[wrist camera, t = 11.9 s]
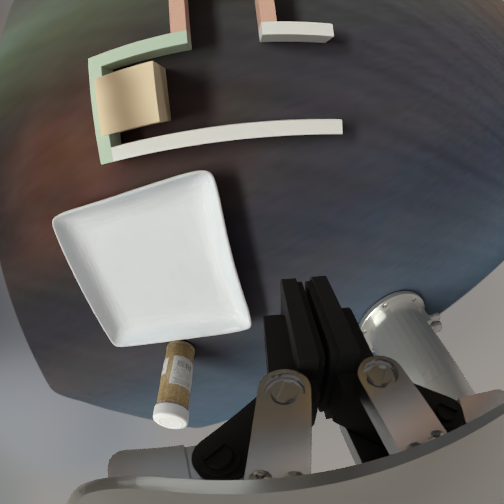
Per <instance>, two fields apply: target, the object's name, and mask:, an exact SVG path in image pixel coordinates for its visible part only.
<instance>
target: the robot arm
mask: <svg viewBox="0 0 504 504" xmlns="http://www.w3.org/2000/svg"><path fill="white" fill-rule="evenodd" d="M439 319H440V314H439V313H434V314H431V315H428V314H427V313H426V312H425V305H424V302H423V300H422V299H421V297H420V296H419V295H418V294H416V293H415V292H412V291H399V292H395V293H392V294H390V295H388V296H386V297H384V298H382V299H381V300H379V301H378V302H377V303H375V304H374V305H373V306H372V307H371V308H370V309H369V310H368V311H367V313H366V314H365V315H364V317H363V318H362V320H361V322H360V324H359V325H358V323H357V321H356V319H355V317H354V315H353V313H352V311H351V309H350V308H341V306H340V304H339V302H338V300H337V298H336V296H335V294H334V292H333V290H332V287H331V285H330V283H329V281H328V279H327V277H326V276H317V277H311V278H310V281H306V282H305V290H304V287H303V284H302V282H297V280H296V278H294V279H281V315H270V316H263V323H264V340H265V353H266V364H267V375H266V376H264V377H263V379H262V380H261V381H260V383H259V386H258V391H257V397H256V398H255V399H254V400H252V401H251V402H250V403H249V404H248V405H247V406H245V407H244V408H243V409H242V410H241V411H239V412H238V413H237V414H236V415H234V416H233V417H232V418H231V419H229V420H228V421H227V422H226V423H224V424H223V425H222V426H221V427H219V428H218V429H217V430H216V431H214V432H213V433H212V434H210V435H209V436H208V437H206V438H205V439H204V440H202V441H201V442H200V443H199V444H198V445H197V446H190V447H184V445H179V446H171V447H163V448H162V447H161V448H150V449H134V450H123V451H119V452H117V453H115V454H114V455H113V456H112V457H111V459H110V460H109V464H108V478H103V479H97V480H93V481H90V482H87V483H84V484H82V485H80V486H79V487H78V488H77V489H76V490H75V491H74V492H73V493H72V495H71V496H70V498H69V499H68V502H67V504H504V391H502V390H492V391H488V392H483V393H479V394H475V392H474V391H473V389H472V387H471V386H470V385H469V383H468V381H467V380H466V378H465V377H464V375H463V373H462V372H461V370H460V369H459V367H458V366H457V364H456V363H455V361H454V360H453V358H452V357H451V355H450V354H449V352H448V351H447V349H446V348H445V346H444V345H443V343H442V342H441V340H440V339H439V338H438V336H437V335H436V333H435V332H438V331H440V330H441V329H442V325H441V322H440V321H438V320H439ZM434 321H435V322H434ZM431 322H432V323H431ZM372 352H375V353H376V355H377V356H373V354H372ZM317 409H319V411H320V412H322V411H324V413H325V417H326V419H329V418H332V419H333V421H334V422H336V423H337V424H339V425H340V430H341V433H342V435H343V437H344V439H345V441H346V444H347V446H348V448H349V450H350V453H351V455H352V457H353V459H354V461H355V463H356V465H354V466H350V467H346V468H341V469H336V470H331V471H326V472H320V473H314V474H311V447H312V426H313V425H314V422H315V418H316V413H317Z"/></svg>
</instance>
